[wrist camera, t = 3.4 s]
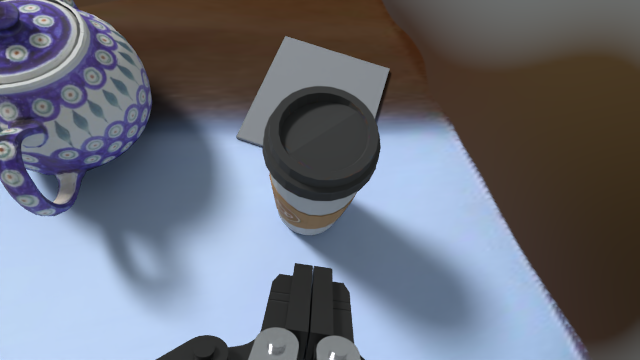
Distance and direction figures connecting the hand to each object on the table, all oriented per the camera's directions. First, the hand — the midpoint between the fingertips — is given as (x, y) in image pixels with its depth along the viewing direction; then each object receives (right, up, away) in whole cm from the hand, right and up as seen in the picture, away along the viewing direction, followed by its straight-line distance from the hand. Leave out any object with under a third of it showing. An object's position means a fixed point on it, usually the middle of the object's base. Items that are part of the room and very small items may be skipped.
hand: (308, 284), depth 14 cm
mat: (0, +13, +28) cm, 32 cm away
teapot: (-24, +10, +24) cm, 36 cm away
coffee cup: (-1, +1, +23) cm, 23 cm away
